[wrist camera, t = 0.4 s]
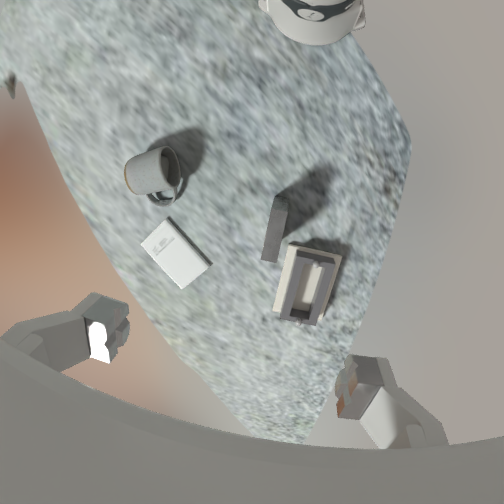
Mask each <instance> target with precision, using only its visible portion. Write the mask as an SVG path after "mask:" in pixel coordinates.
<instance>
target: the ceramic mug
mask: <svg viewBox="0 0 504 504" xmlns="http://www.w3.org/2000/svg"><path fill="white" fill-rule="evenodd" d="M124 177H125V181H126V184H127V186H128V188H129V189H130V190H131V191H132V192H133V193H134V194H137V195H145V194H146V196H147V198H148V199H149V201H151V202H152V203H153V204H155V205H157V206H163V207H164V206H169V205H171V204H173V203H174V201H175V199H176V197H177V187H178V185H179V183H180V179H181V171H180V165H179V161H178V158H177V156H176V154H175V152H174V151H173V149H172V148H170V147H169V146H162V147H159V148H156V149H153V150H150V151H148V152H145V153H142V154H139V155H137V156H134V157H133V158H131V159H130V160H128V162H127V163H126V165H125V169H124ZM171 189H173V194H174V197H173V198H172V199H168V200H158V199H156V198H155V197H154V196H153V195H152V193H154V192H160V191H165V190H171Z"/></svg>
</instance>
